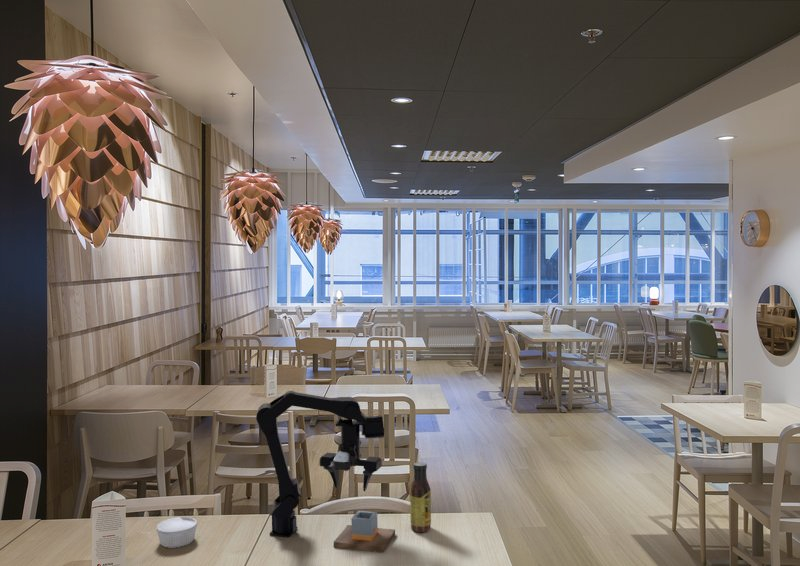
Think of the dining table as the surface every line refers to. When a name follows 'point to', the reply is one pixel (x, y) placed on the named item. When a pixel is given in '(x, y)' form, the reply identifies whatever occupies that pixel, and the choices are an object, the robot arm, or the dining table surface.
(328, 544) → the dining table surface
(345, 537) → the pin board
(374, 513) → the sleeve
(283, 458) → the robot arm
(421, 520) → the sauce bottle
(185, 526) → the ramekin
